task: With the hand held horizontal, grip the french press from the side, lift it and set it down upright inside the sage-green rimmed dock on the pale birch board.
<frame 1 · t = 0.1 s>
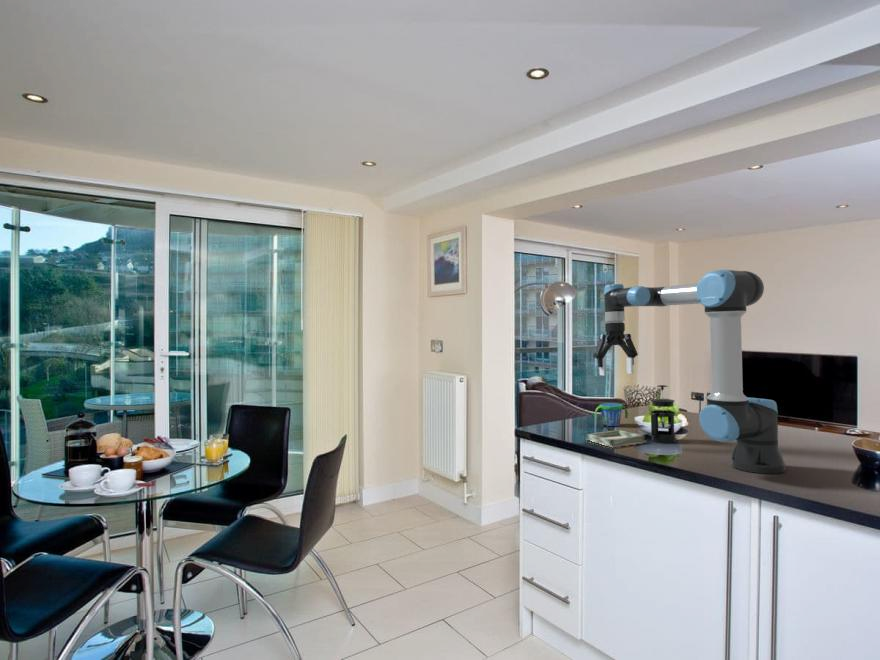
hand: (616, 374, 207), 28 cm above the table, tool pointing down, fingers open, 13 cm apart
french press: (662, 441, 210), on the table
snack cup: (611, 426, 245), on the table
dock: (615, 442, 210), on the table
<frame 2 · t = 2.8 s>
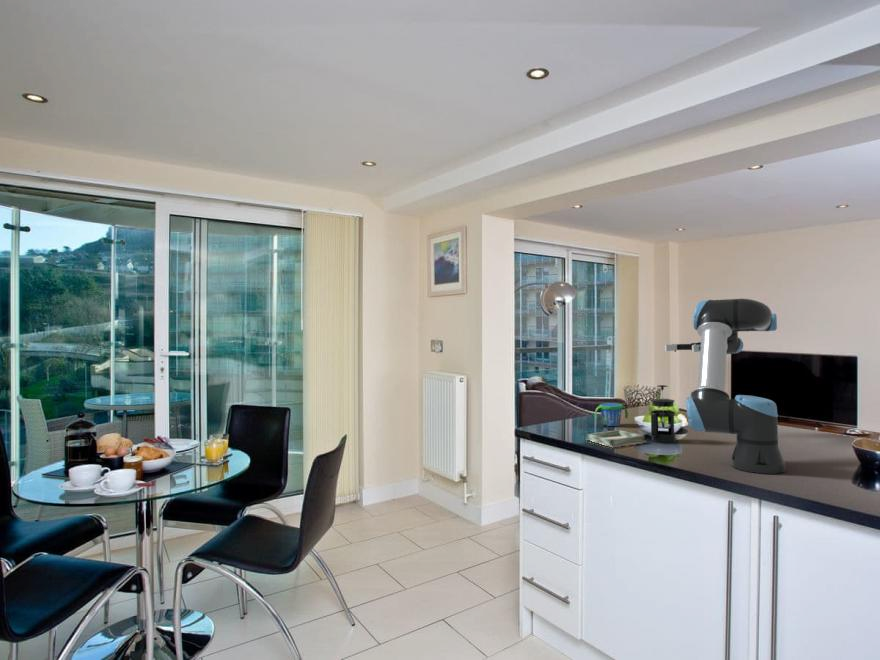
hand: (678, 348, 214), 38 cm above the table, tool horizontal, fingers open, 13 cm apart
nothing on the table moved.
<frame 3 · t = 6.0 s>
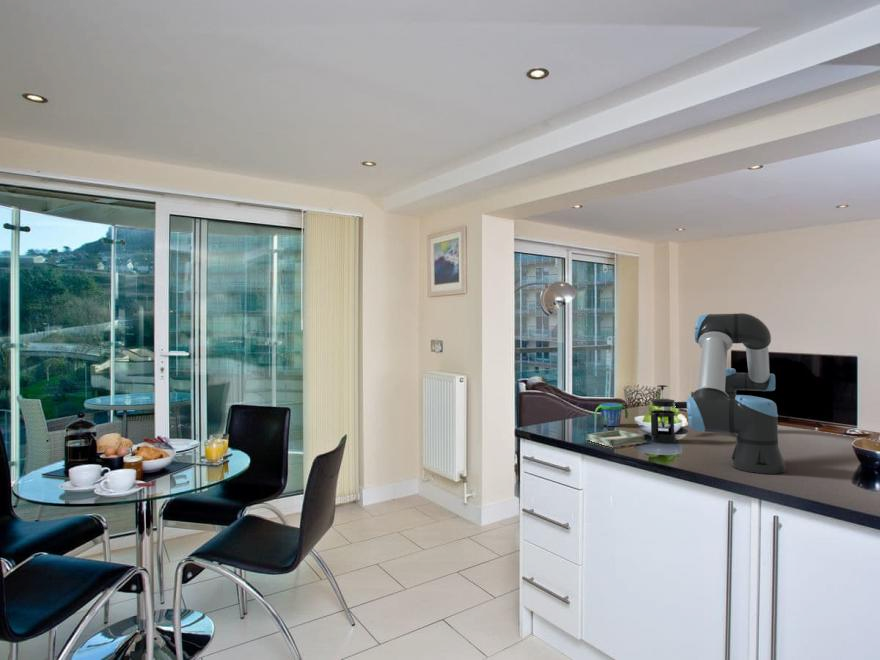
hand: (676, 409, 214), 12 cm above the table, tool horizontal, fingers open, 13 cm apart
nothing on the table moved.
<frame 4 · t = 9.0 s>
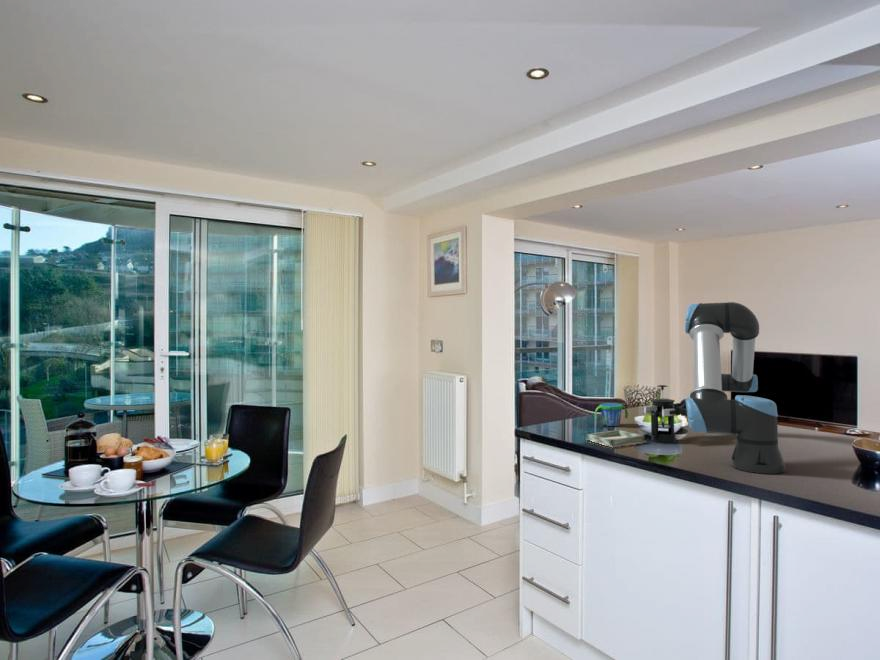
hand: (653, 411, 208), 13 cm above the table, tool horizontal, fingers closed on french press, 8 cm apart
french press: (662, 441, 210), on the table, touching gripper
everything else where it was.
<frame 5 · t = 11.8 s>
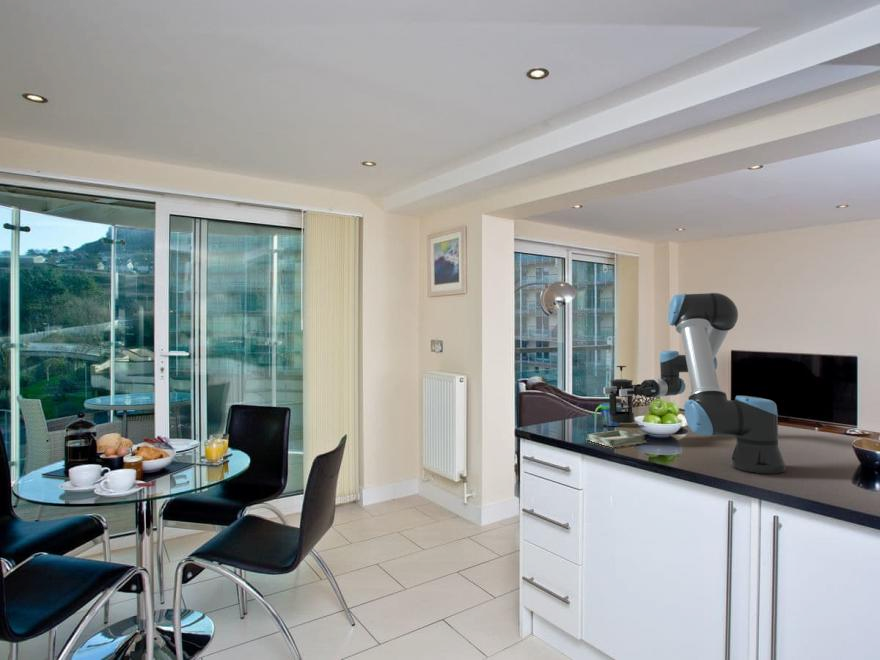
hand: (612, 391, 209), 21 cm above the table, tool horizontal, fingers closed on french press, 8 cm apart
french press: (621, 421, 211), point 8 cm above the table, touching gripper
everything else where it was.
when the fingers open (15 cm above the table, at t = 14.4 s): french press drops 1 cm, resting on dock.
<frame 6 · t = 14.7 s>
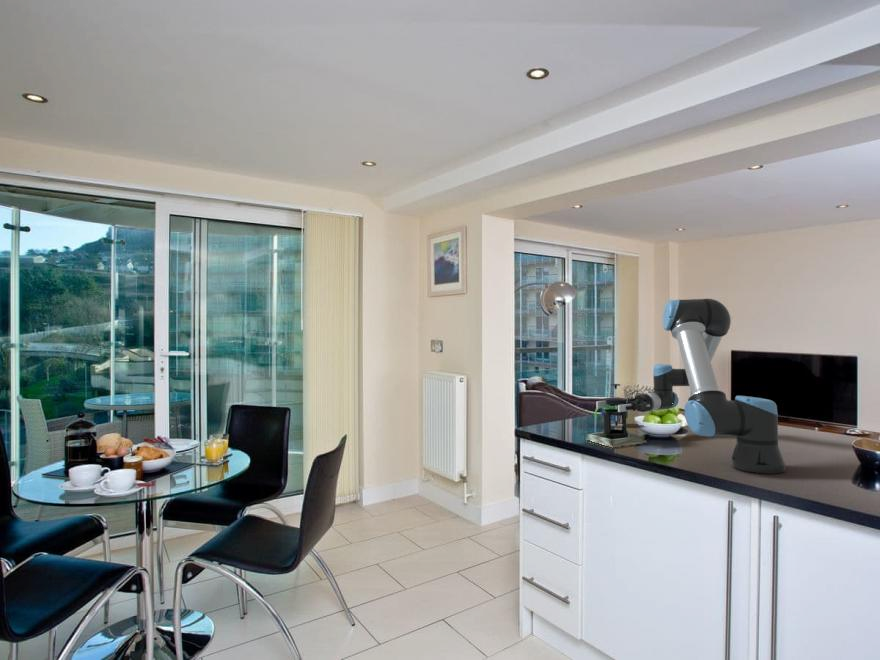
hand: (607, 406, 208), 15 cm above the table, tool horizontal, fingers open, 12 cm apart
french press: (615, 440, 210), point 1 cm above the table, touching dock
everything else where it was.
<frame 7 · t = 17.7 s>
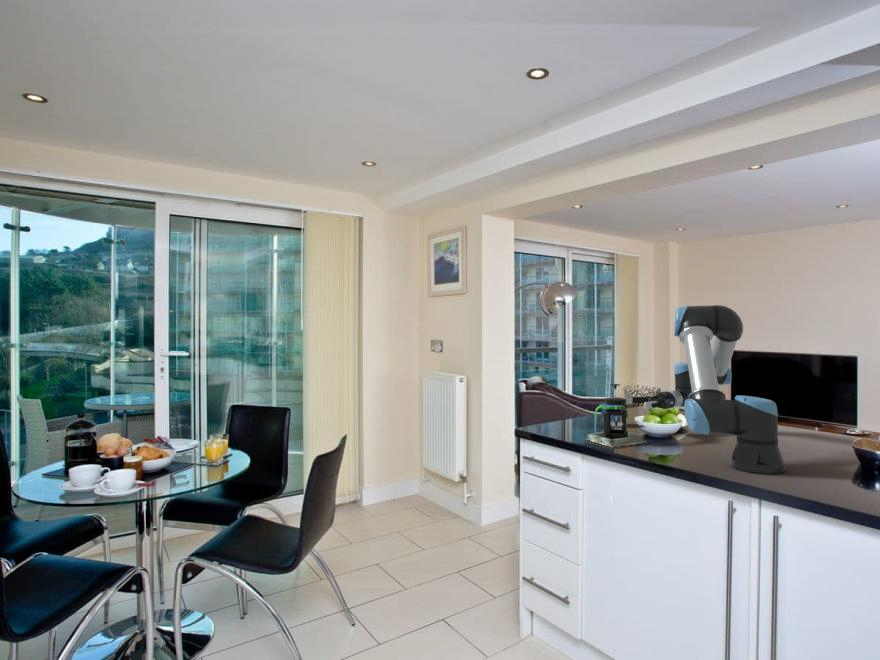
hand: (632, 403, 214), 15 cm above the table, tool horizontal, fingers open, 13 cm apart
nothing on the table moved.
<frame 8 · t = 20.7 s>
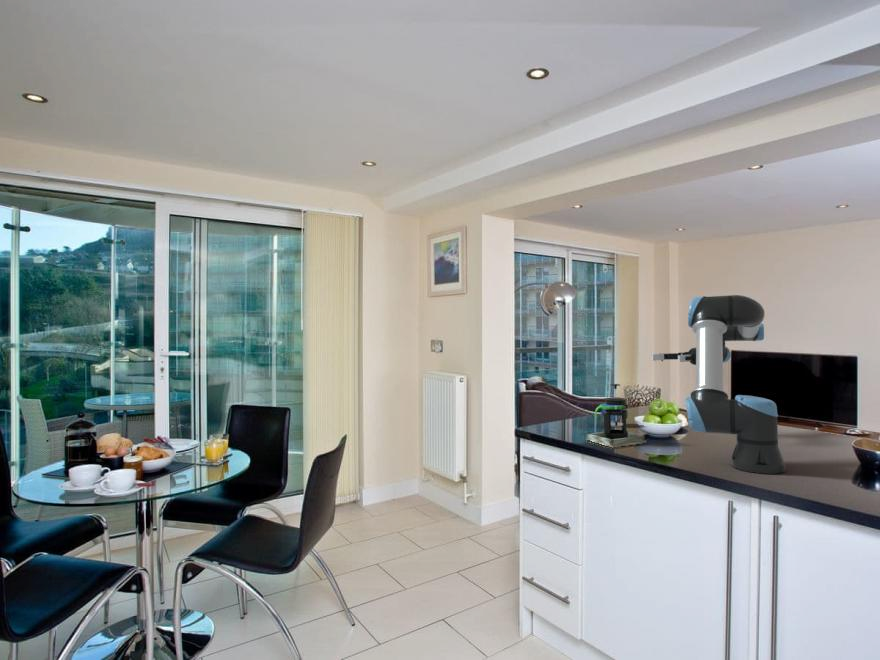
hand: (665, 358, 214), 34 cm above the table, tool horizontal, fingers open, 13 cm apart
nothing on the table moved.
at the end: french press 0.3 cm off-centre on the dock, point 0.8 cm above the dock's base; french press tilted 0°; the gripper is holding nothing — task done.
